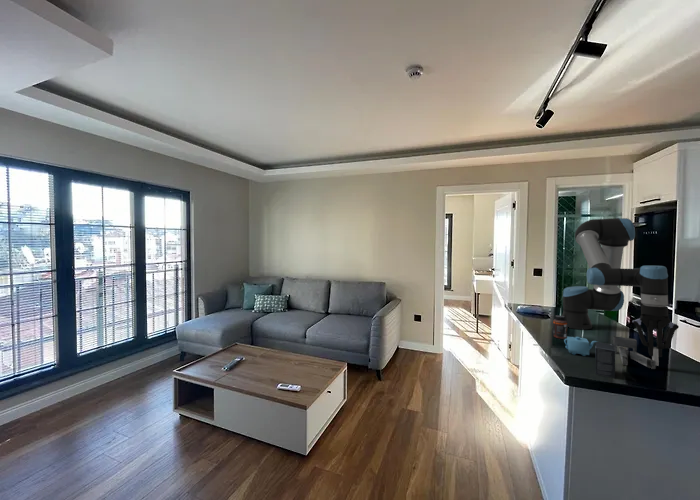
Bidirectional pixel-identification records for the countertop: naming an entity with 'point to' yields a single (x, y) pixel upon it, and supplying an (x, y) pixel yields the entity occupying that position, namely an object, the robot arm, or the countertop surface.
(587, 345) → the blue teapot
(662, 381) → the countertop surface
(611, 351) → the box
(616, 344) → the collar
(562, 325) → the supplement bottle
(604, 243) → the robot arm
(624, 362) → the tongs fixed
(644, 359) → the tongs jaw
